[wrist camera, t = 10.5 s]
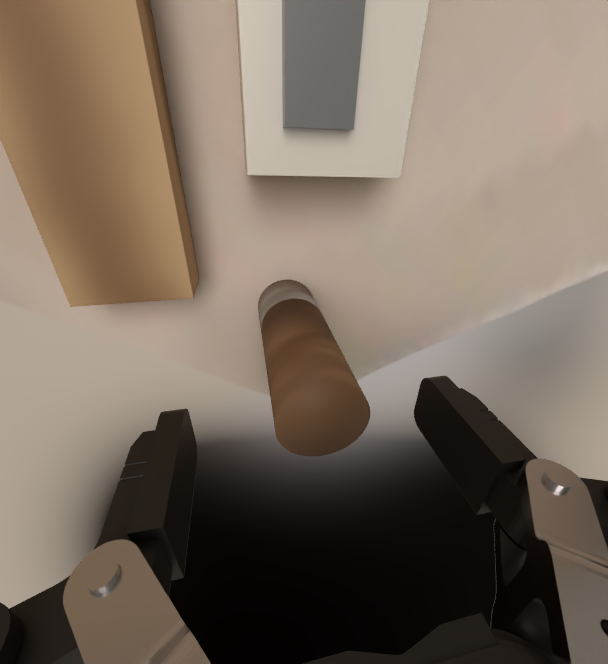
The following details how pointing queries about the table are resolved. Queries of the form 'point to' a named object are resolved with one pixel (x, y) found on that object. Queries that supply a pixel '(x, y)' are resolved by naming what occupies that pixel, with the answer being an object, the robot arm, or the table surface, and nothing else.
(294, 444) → the brown cylinder
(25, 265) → the table surface
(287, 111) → the block
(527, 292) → the table surface
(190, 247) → the batten
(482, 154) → the table surface
